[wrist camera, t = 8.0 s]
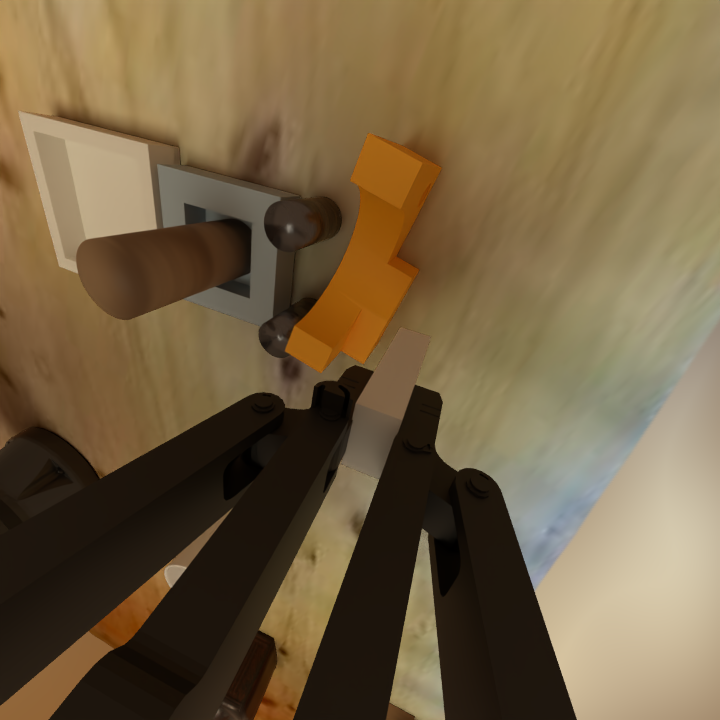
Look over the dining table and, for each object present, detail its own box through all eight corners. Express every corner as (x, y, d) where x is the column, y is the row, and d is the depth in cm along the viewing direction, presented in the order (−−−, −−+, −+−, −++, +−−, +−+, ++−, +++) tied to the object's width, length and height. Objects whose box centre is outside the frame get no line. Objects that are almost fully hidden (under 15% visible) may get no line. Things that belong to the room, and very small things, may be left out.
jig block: (193, 286, 29) (170, 294, 27) (186, 165, 24) (157, 164, 22) (288, 318, 27) (271, 330, 25) (300, 195, 22) (280, 197, 20)
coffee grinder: (218, 611, 59) (123, 759, 44) (275, 637, 56) (195, 806, 41) (229, 652, 66) (151, 791, 51) (279, 678, 63) (213, 833, 48)
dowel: (213, 266, 27) (86, 306, 18) (212, 212, 25) (67, 228, 16) (258, 281, 26) (147, 329, 17) (261, 226, 24) (135, 251, 15)
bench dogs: (293, 324, 27) (257, 350, 23) (307, 192, 22) (264, 195, 18) (323, 334, 27) (292, 363, 22) (344, 202, 22) (309, 207, 18)
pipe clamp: (376, 344, 26) (345, 388, 20) (328, 315, 26) (284, 351, 21) (469, 183, 19) (460, 183, 14) (403, 145, 19) (368, 132, 14)
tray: (89, 260, 31) (59, 266, 29) (57, 116, 26) (18, 110, 24) (189, 295, 29) (165, 304, 27) (179, 147, 24) (147, 144, 22)
